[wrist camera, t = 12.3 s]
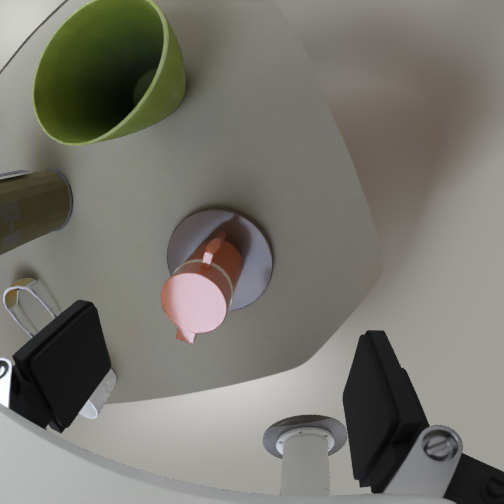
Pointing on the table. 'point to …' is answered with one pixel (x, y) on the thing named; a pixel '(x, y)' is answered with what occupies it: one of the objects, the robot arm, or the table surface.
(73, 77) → the flower pot
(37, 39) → the table surface
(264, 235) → the turntable
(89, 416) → the white cup
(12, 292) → the sunglasses
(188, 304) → the jug
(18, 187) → the canister
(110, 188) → the table surface
